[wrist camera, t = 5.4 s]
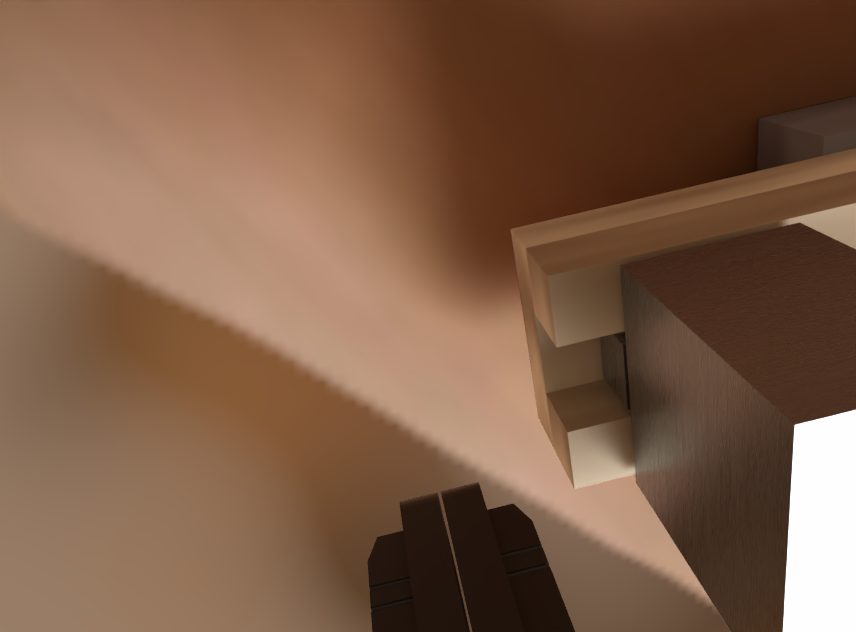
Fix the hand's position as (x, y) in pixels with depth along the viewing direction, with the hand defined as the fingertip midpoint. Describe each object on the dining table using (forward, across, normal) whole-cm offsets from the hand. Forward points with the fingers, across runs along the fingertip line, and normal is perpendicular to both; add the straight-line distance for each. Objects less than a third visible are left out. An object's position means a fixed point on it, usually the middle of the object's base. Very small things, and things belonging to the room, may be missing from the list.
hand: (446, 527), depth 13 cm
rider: (+5, -7, 0) cm, 9 cm away
